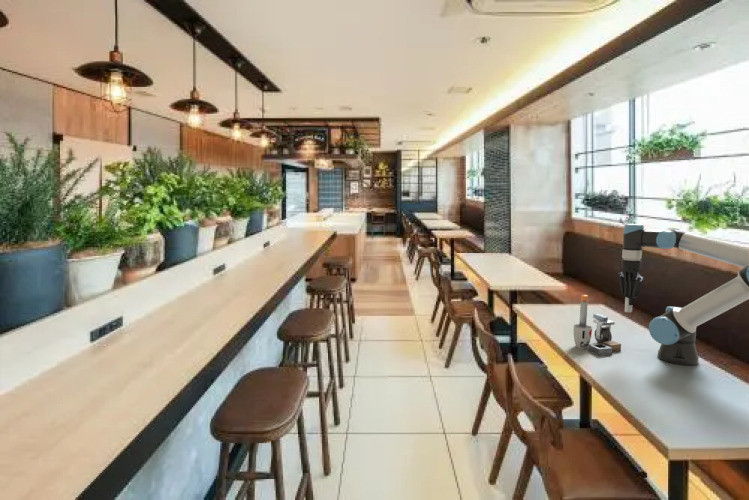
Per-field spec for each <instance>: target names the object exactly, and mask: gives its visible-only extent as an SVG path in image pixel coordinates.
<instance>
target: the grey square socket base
mask: <svg viewBox="0 0 749 500" xmlns="http://www.w3.org/2000/svg"><path fill="white" fill-rule="evenodd" d="M587 351H588V352H590V353H592V354H594V355H596V356H598V357H600V356H608V355H613V352H612V348H611V347H609V346H607V345H604V344H602V343H598V342H597V343H589V344H588V348H587Z"/></svg>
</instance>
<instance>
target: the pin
mask: <svg viewBox="0 0 749 500" xmlns="http://www.w3.org/2000/svg"><path fill="white" fill-rule="evenodd" d="M588 305H589V295H588V294H581V295H580V307H579V308H580V309H579V327H586V325H587V323H588V322H587V321H588V320H587V318H588Z"/></svg>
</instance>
